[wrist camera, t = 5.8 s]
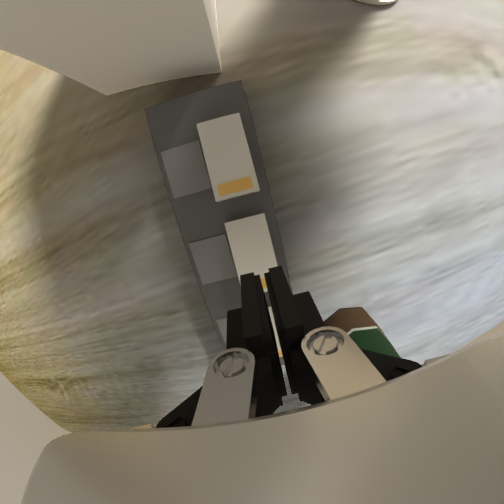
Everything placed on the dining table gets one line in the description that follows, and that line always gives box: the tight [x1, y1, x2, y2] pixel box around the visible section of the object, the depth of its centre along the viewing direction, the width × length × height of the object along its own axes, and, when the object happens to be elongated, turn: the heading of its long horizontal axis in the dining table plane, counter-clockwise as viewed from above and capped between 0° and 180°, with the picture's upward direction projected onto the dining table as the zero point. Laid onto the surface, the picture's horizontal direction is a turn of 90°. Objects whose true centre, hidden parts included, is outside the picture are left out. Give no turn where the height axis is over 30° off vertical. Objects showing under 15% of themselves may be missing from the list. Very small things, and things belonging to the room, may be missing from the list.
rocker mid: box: [224, 213, 278, 292], centre depth 23 cm, size 6×3×2 cm, turn 12°
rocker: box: [197, 113, 260, 202], centre depth 20 cm, size 6×3×2 cm, turn 13°
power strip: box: [145, 80, 293, 365], centre depth 27 cm, size 31×8×4 cm, turn 14°
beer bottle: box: [324, 307, 401, 358], centre depth 22 cm, size 8×8×24 cm
